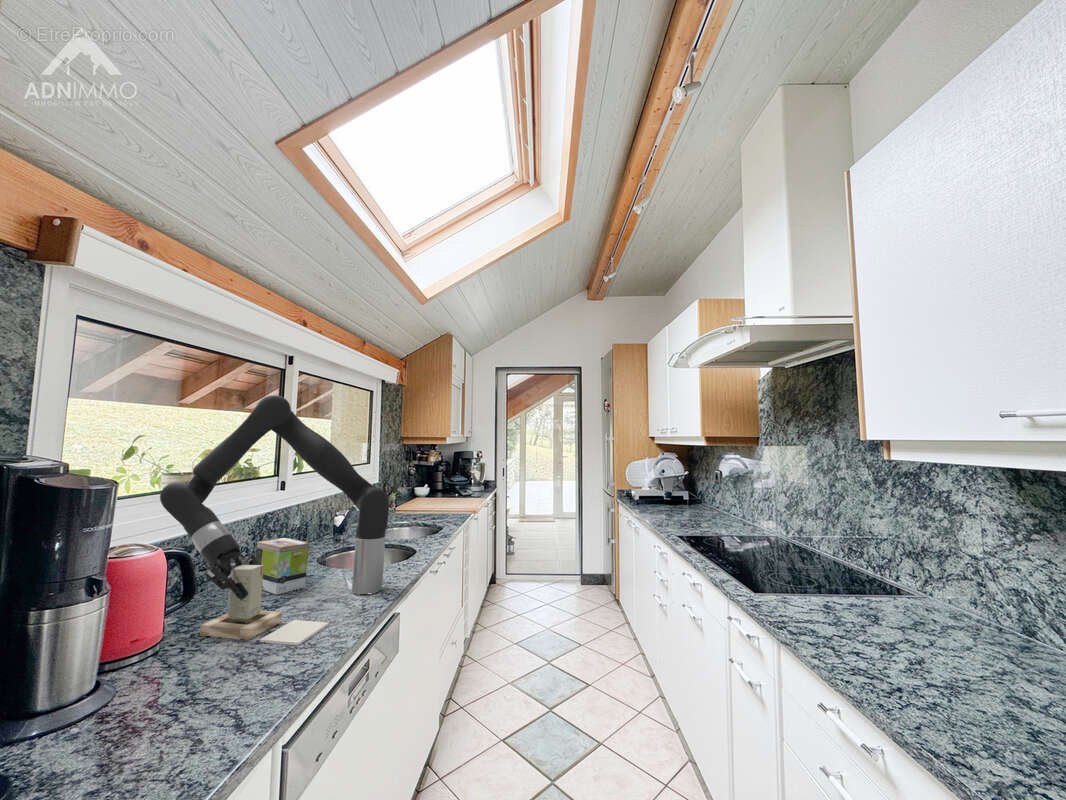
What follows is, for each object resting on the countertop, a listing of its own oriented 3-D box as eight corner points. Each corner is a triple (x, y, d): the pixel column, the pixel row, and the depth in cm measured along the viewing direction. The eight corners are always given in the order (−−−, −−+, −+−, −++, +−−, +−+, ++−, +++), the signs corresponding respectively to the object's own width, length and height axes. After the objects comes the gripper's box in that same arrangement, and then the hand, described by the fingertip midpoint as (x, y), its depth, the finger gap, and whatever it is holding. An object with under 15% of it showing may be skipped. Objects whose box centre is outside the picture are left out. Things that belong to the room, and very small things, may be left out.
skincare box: (261, 613, 111) (265, 564, 113) (248, 619, 107) (253, 569, 109) (238, 611, 112) (243, 563, 113) (225, 618, 108) (230, 568, 109)
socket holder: (236, 618, 116) (237, 608, 116) (281, 621, 114) (282, 612, 114) (199, 635, 105) (200, 625, 105) (248, 640, 103) (249, 629, 103)
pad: (294, 622, 114) (294, 619, 114) (328, 625, 112) (328, 622, 112) (259, 642, 102) (260, 639, 102) (298, 645, 101) (298, 642, 101)
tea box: (306, 587, 142) (310, 541, 143) (275, 596, 133) (279, 547, 135) (282, 579, 150) (286, 536, 151) (251, 587, 141) (255, 541, 143)
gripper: (201, 539, 106) (240, 593, 103) (247, 528, 120) (282, 575, 117) (180, 560, 106) (218, 614, 103) (228, 547, 120) (263, 594, 117)
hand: (252, 593), depth 110 cm, fingers closed on skincare box, 4 cm apart
